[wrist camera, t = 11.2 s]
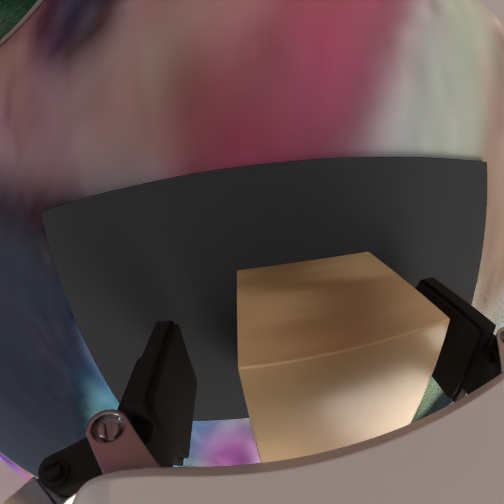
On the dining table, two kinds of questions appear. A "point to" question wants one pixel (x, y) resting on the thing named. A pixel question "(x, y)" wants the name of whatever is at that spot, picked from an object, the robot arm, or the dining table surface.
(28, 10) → the canned tomato
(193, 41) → the dining table surface
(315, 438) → the block
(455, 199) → the mat
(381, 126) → the dining table surface
